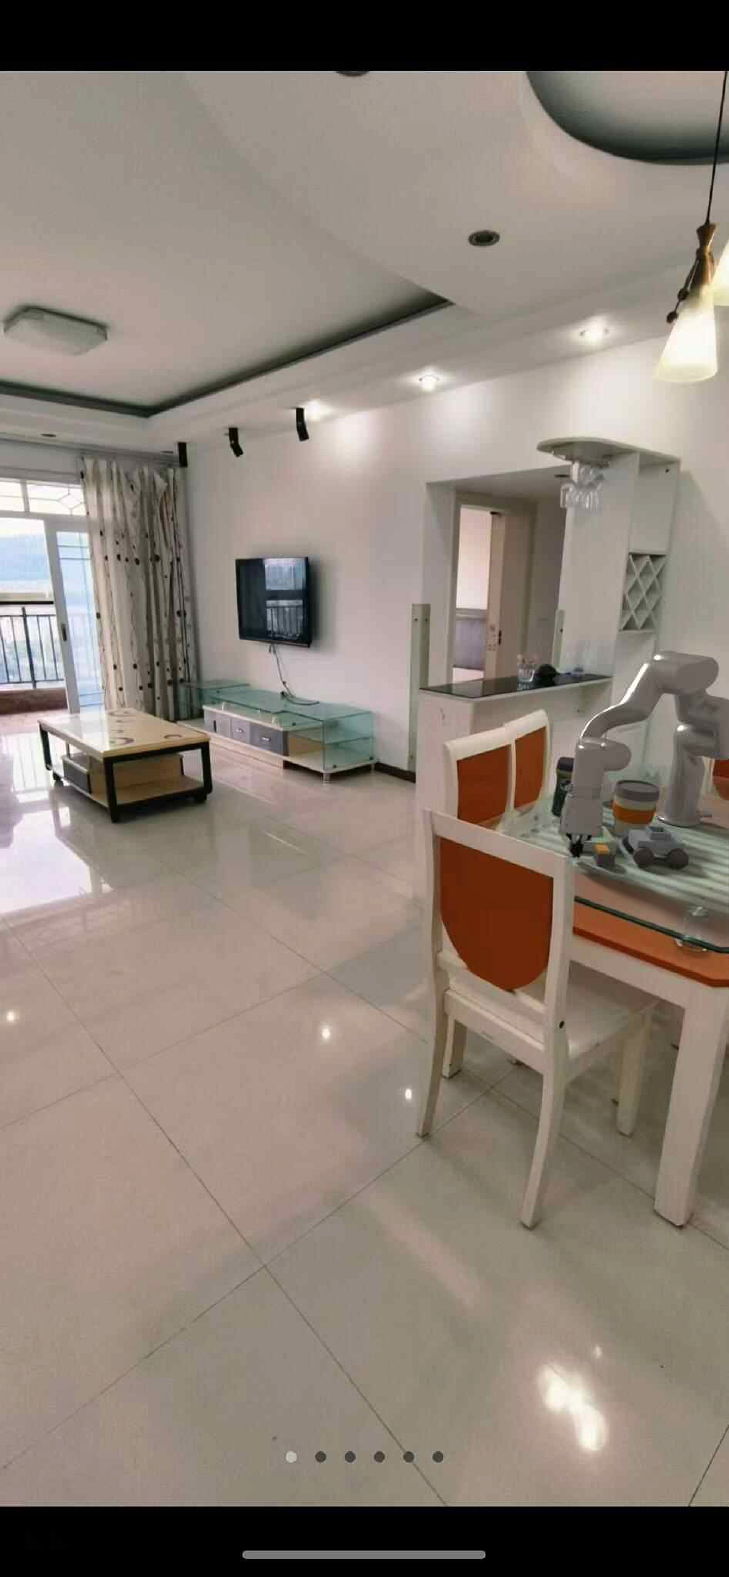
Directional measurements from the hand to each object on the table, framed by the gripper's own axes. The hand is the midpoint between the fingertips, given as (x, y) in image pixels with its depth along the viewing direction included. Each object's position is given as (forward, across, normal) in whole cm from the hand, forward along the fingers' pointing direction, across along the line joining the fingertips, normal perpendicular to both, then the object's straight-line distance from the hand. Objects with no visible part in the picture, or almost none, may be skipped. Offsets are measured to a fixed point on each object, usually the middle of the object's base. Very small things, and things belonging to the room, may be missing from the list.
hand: (575, 855), depth 178 cm
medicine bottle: (+2, +18, +53) cm, 56 cm away
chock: (+2, +8, 0) cm, 8 cm away
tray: (+2, +6, +13) cm, 15 cm away
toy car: (+2, +22, +5) cm, 23 cm away
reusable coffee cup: (+2, +21, +23) cm, 31 cm away
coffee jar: (+2, +5, +37) cm, 38 cm away
